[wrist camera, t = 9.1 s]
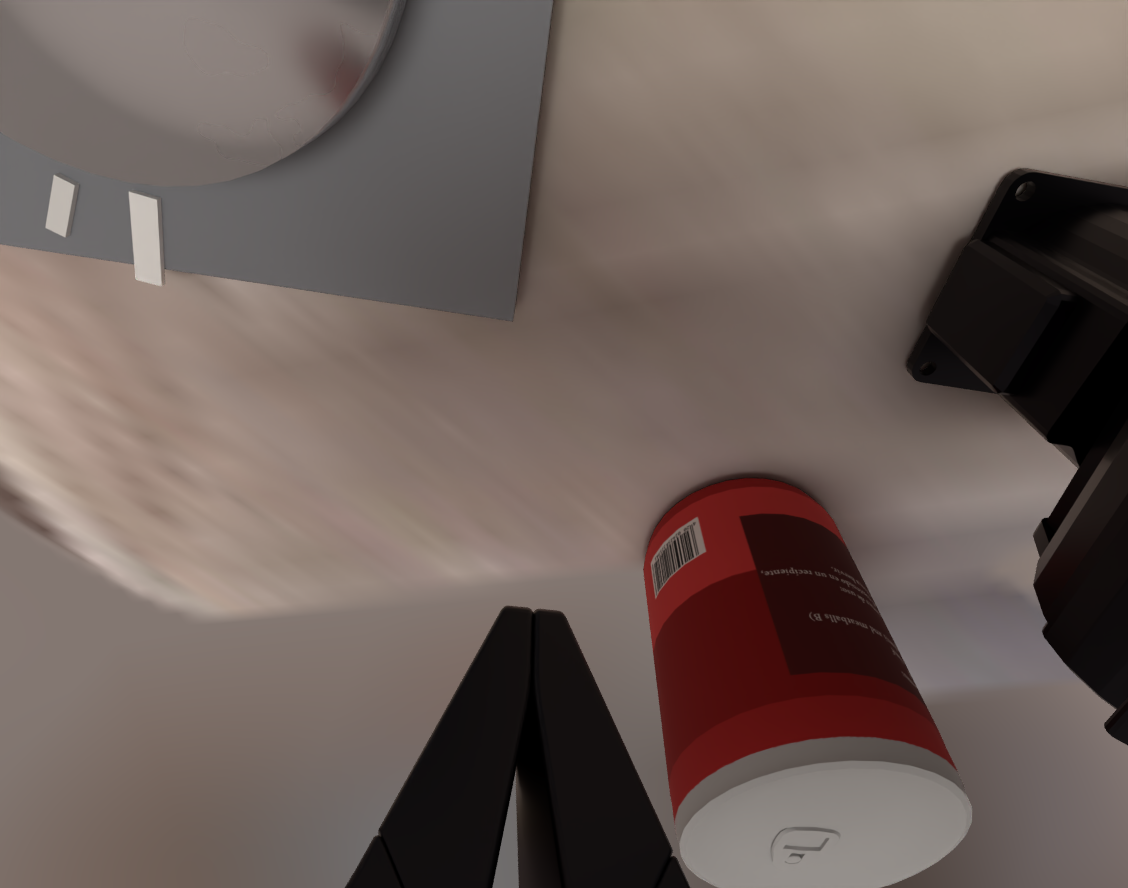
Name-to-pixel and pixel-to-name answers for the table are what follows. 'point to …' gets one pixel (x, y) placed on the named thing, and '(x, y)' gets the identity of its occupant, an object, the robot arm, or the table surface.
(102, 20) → the dial
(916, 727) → the canned food
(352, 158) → the panel
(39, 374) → the table surface
